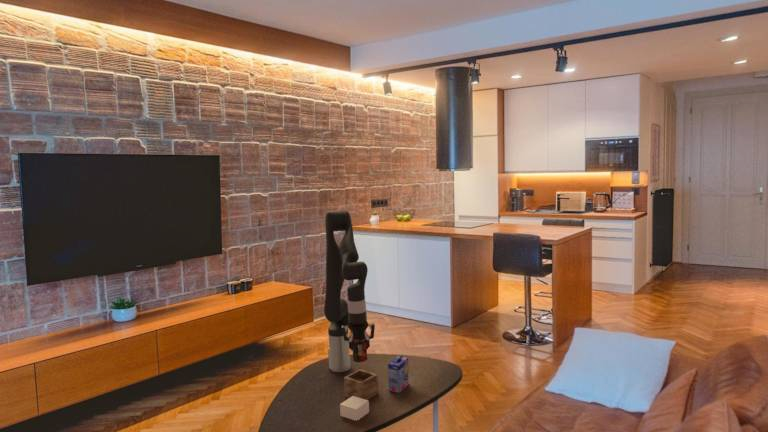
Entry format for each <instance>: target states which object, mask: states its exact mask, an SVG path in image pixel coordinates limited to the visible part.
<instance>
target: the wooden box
mask: <svg viewBox="0 0 768 432" xmlns="http://www.w3.org/2000/svg"><path fill="white" fill-rule="evenodd" d="M343 385H344V397H346V398H347V399H349V398H350V397H352V396H355V397H358V398H362V399H365V400H368V401H369V399H372V398H373V397H375V396H377V395H379V393H380V392H379V377H378V374H377V373H374V372H371V371H369V370H365V369H361V368H359V369H357V370H355V371H353V372H351V373H350V374H347V375H346V376H343Z"/></svg>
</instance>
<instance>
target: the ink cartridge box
mask: <svg viewBox="0 0 768 432" xmlns="http://www.w3.org/2000/svg"><path fill="white" fill-rule="evenodd" d="M403 355H404V354H401V355H397V356H396V357H395V358H393V359H392V360H391V361H389V363H388V364H387V373H388V374H387V376H388V379H387V380H388V381H387V382H388V391H389V392H394V393H396V394H400V393H401V392H402V391H403V390H405V388H406V387H408V385H409V357H406V356H403Z"/></svg>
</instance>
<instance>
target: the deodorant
mask: <svg viewBox="0 0 768 432" xmlns="http://www.w3.org/2000/svg"><path fill="white" fill-rule="evenodd" d="M351 328H352V332H353V337H352V347H353V350H352V359H353V362H354V363H364V362H367V360H368V349H367V347H366V337H365V332H367V329H366V330H365V325H360V326H351ZM364 330H365V331H364ZM352 332H351V331H350V333H351V334H352Z"/></svg>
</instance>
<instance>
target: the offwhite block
mask: <svg viewBox="0 0 768 432" xmlns="http://www.w3.org/2000/svg"><path fill="white" fill-rule="evenodd" d="M339 410H340V411H339V412H340V417H343V418H346V419H350V420H352V421H355V420H356V422H358V421H359V420H361V419H362V418H363V417H365V416H366V415H367V414H369V413H370V401H369V399H368V400H365V399H362V398H358V397H355V396H352V397H350V398H347V399H346V400H344V401H342V402H341V403H340V404H339ZM360 418H361V419H360ZM357 420H358V421H357Z"/></svg>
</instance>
